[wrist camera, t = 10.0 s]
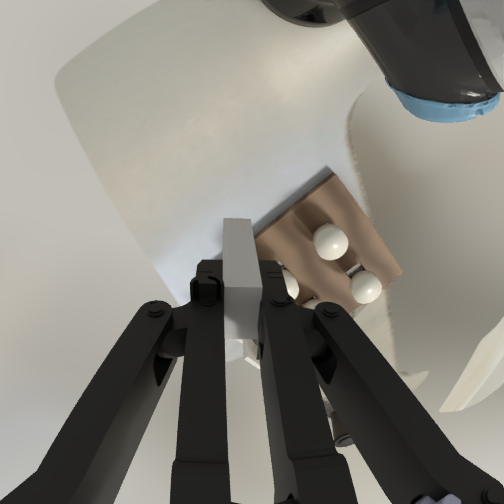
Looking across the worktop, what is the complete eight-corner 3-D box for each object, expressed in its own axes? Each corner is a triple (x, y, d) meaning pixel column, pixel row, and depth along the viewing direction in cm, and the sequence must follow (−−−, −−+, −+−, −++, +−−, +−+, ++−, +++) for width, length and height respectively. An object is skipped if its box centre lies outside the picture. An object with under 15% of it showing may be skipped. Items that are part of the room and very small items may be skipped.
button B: (363, 258, 52) (373, 272, 48) (376, 276, 54) (386, 290, 50) (340, 276, 53) (348, 291, 49) (354, 293, 55) (362, 308, 52)
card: (245, 320, 59) (249, 355, 52) (284, 351, 64) (291, 385, 57) (229, 332, 61) (230, 367, 53) (269, 361, 66) (274, 394, 58)
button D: (314, 287, 56) (320, 302, 52) (329, 303, 58) (335, 318, 54) (292, 303, 58) (296, 319, 54) (307, 318, 60) (312, 334, 56)
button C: (280, 256, 51) (285, 272, 47) (299, 276, 53) (305, 292, 49) (256, 275, 52) (259, 291, 48) (276, 293, 54) (279, 310, 50)
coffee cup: (329, 423, 82) (336, 452, 73) (323, 411, 78) (331, 442, 69) (355, 414, 81) (364, 442, 72) (351, 401, 77) (361, 431, 68)
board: (333, 172, 47) (335, 174, 46) (400, 269, 57) (403, 272, 56) (216, 266, 53) (216, 270, 52) (301, 340, 63) (302, 344, 62)
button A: (328, 212, 50) (336, 223, 46) (345, 233, 52) (354, 246, 48) (303, 231, 51) (309, 244, 47) (321, 252, 53) (328, 266, 49)
